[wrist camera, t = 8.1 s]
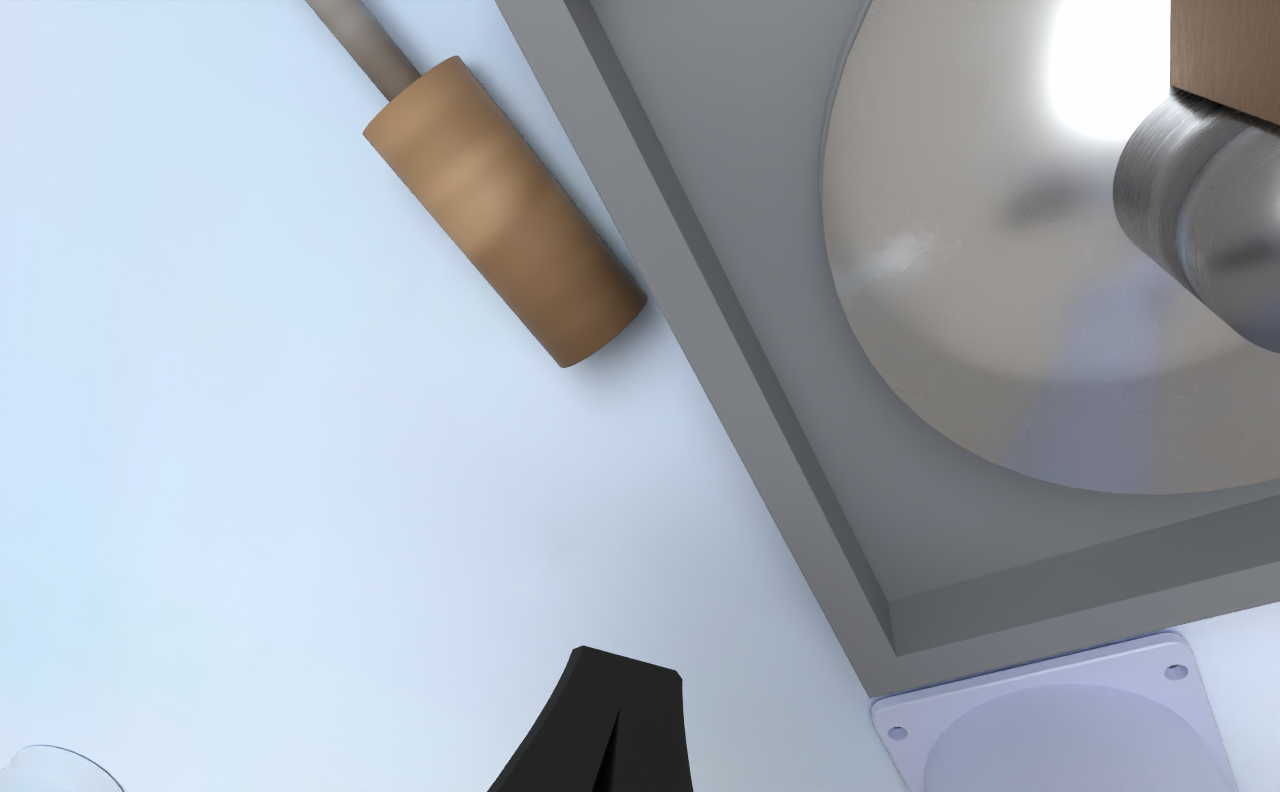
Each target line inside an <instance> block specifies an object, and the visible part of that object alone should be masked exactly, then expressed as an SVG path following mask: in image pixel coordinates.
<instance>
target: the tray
mask: <svg viewBox="0 0 1280 792" xmlns="http://www.w3.org/2000/svg"><path fill="white" fill-rule="evenodd" d="M861 1H862V0H495V2H496V4H497V6H498V7H499V9H500V11H501V13H502V15H503V17H504V19H505V21H506V22H507V24H508V26H509V28H510V30H511V32H512V34H513V35H514V37H515V39H516V41H517V43H518V45H519V47H520V48H521V50H522V52H523V54H524V56H525V58H526V60H527V61H528V63H529V65H530V67H531V69H532V71H533V73H534V75H535V76H536V78H537V80H538V82H539V84H540V86H541V88H542V89H543V91H544V93H545V95H546V97H547V99H548V101H549V102H550V104H551V106H552V108H553V110H554V112H555V114H556V115H557V117H558V119H559V121H560V123H561V125H562V127H563V128H564V130H565V132H566V134H567V136H568V138H569V140H570V142H571V143H572V145H573V147H574V149H575V151H576V153H577V155H578V156H579V158H580V160H581V162H582V164H583V166H584V168H585V169H586V171H587V173H588V175H589V177H590V179H591V181H592V182H593V184H594V186H595V188H596V190H597V192H598V194H599V196H600V197H601V199H602V201H603V203H604V205H605V207H606V209H607V210H608V212H609V214H610V216H611V218H612V220H613V222H614V223H615V225H616V227H617V229H618V231H619V233H620V235H621V236H622V238H623V240H624V242H625V244H626V246H627V248H628V249H629V251H630V253H631V255H632V257H633V259H634V261H635V263H636V264H637V266H638V268H639V270H640V272H641V274H642V276H643V277H644V279H645V281H646V283H647V285H648V287H649V289H650V290H651V292H652V294H653V296H654V298H655V300H656V302H657V303H658V305H659V307H660V309H661V311H662V313H663V315H664V316H665V318H666V320H667V322H668V324H669V326H670V328H671V330H672V331H673V333H674V335H675V337H676V339H677V341H678V343H679V344H680V346H681V348H682V350H683V352H684V354H685V356H686V357H687V359H688V361H689V363H690V365H691V367H692V369H693V370H694V372H695V374H696V376H697V378H698V380H699V382H700V384H701V385H702V387H703V389H704V391H705V393H706V395H707V397H708V398H709V400H710V402H711V404H712V406H713V408H714V410H715V411H716V413H717V415H718V417H719V419H720V421H721V423H722V424H723V426H724V428H725V430H726V432H727V434H728V436H729V437H730V439H731V441H732V443H733V445H734V447H735V449H736V451H737V452H738V454H739V456H740V458H741V460H742V462H743V464H744V465H745V467H746V469H747V471H748V473H749V475H750V477H751V478H752V480H753V482H754V484H755V486H756V488H757V490H758V491H759V493H760V495H761V497H762V499H763V501H764V503H765V505H766V506H767V508H768V510H769V512H770V514H771V516H772V518H773V519H774V521H775V523H776V525H777V527H778V529H779V531H780V532H781V534H782V536H783V538H784V540H785V542H786V544H787V545H788V547H789V549H790V551H791V553H792V555H793V557H794V558H795V560H796V562H797V564H798V566H799V568H800V570H801V572H802V573H803V575H804V577H805V579H806V581H807V583H808V585H809V586H810V588H811V590H812V592H813V594H814V596H815V598H816V599H817V601H818V603H819V605H820V607H821V609H822V611H823V612H824V614H825V616H826V618H827V620H828V622H829V624H830V625H831V627H832V629H833V631H834V633H835V635H836V637H837V639H838V640H839V642H840V644H841V646H842V648H843V650H844V652H845V653H846V655H847V657H848V659H849V661H850V663H851V665H852V666H853V668H854V670H855V672H856V674H857V676H858V678H859V679H860V681H861V683H862V685H863V687H864V689H865V691H866V693H867V694H868V696H869V698H873V697H877V696H882V695H886V694H890V693H894V692H899V691H903V690H907V689H911V688H915V687H920V686H924V685H928V684H932V683H937V682H941V681H945V680H949V679H953V678H958V677H962V676H966V675H970V674H975V673H979V672H983V671H987V670H991V669H996V668H1000V667H1004V666H1008V665H1013V664H1017V663H1021V662H1025V661H1030V660H1034V659H1038V658H1042V657H1046V656H1051V655H1055V654H1059V653H1063V652H1068V651H1072V650H1076V649H1080V648H1084V647H1089V646H1093V645H1097V644H1101V643H1106V642H1110V641H1114V640H1118V639H1122V638H1127V637H1131V636H1135V635H1139V634H1144V633H1148V632H1152V631H1156V630H1160V629H1165V628H1169V627H1173V626H1177V625H1182V624H1186V623H1190V622H1194V621H1199V620H1203V619H1207V618H1211V617H1215V616H1220V615H1224V614H1228V613H1232V612H1237V611H1241V610H1245V609H1249V608H1253V607H1258V606H1262V605H1266V604H1270V603H1275V602H1279V601H1280V477H1279V478H1275V479H1271V480H1267V481H1264V482H1260V483H1256V484H1250V485H1244V486H1238V487H1232V488H1225V489H1219V490H1213V491H1207V492H1193V493H1178V494H1163V495H1153V494H1119V493H1109V492H1101V491H1094V490H1086V489H1079V488H1071V487H1067V486H1063V485H1059V484H1055V483H1051V482H1047V481H1043V480H1039V479H1035V478H1031V477H1028V476H1026V475H1023V474H1020V473H1018V472H1015V471H1012V470H1010V469H1007V468H1004V467H1002V466H999V465H997V464H994V463H992V462H990V461H988V460H986V459H984V458H982V457H980V456H978V455H976V454H974V453H973V452H971V451H969V450H967V449H965V448H963V447H961V446H959V445H957V444H956V443H954V442H953V441H952V440H950V439H949V438H947V437H946V436H945V435H943V434H942V433H940V432H939V431H937V430H936V429H935V428H933V427H932V426H930V425H929V424H928V423H926V422H925V421H924V420H923V419H922V418H921V417H919V416H918V415H917V414H916V413H915V412H914V411H913V410H912V409H911V408H910V407H909V406H908V405H907V404H906V403H905V402H903V401H902V400H901V399H900V398H899V397H898V396H897V395H896V394H895V392H894V391H893V390H892V389H891V387H890V386H889V385H888V384H887V382H886V381H885V380H884V379H883V378H882V376H881V375H880V374H879V373H878V371H877V370H876V369H875V368H874V366H873V365H872V363H871V362H870V360H869V358H868V357H867V355H866V353H865V352H864V350H863V348H862V346H861V345H860V343H859V341H858V340H857V338H856V336H855V335H854V333H853V331H852V329H851V326H850V324H849V322H848V319H847V317H846V314H845V312H844V309H843V307H842V304H841V302H840V299H839V297H838V294H837V292H836V287H835V283H834V279H833V275H832V271H831V267H830V263H829V259H828V255H827V250H826V243H825V236H824V228H823V220H822V210H821V200H820V190H819V165H820V139H821V133H822V127H823V121H824V115H825V109H826V102H827V96H828V92H829V89H830V85H831V82H832V79H833V75H834V72H835V68H836V65H837V62H838V58H839V55H840V51H841V48H842V46H843V43H844V41H845V39H846V36H847V34H848V32H849V29H850V27H851V25H852V22H853V20H854V18H855V15H856V13H857V11H858V8H859V6H860V4H861Z"/></svg>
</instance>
